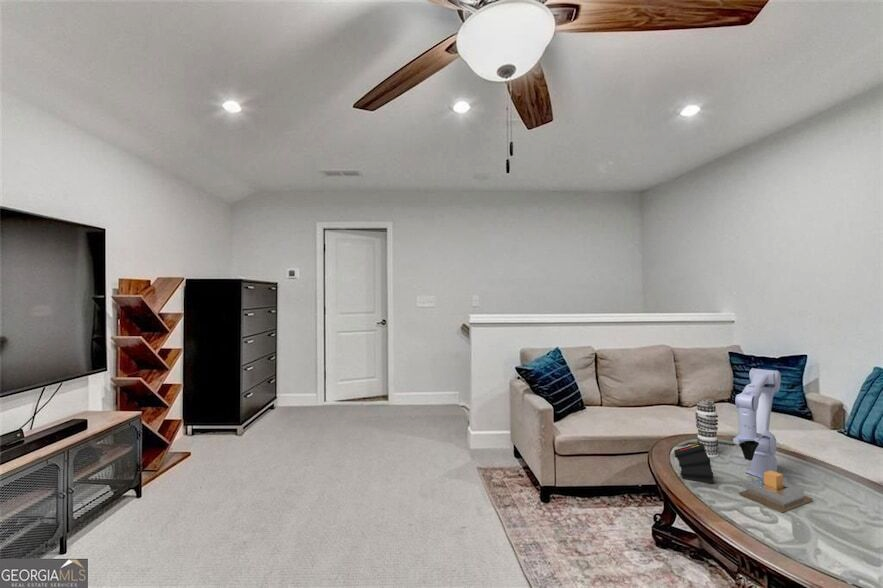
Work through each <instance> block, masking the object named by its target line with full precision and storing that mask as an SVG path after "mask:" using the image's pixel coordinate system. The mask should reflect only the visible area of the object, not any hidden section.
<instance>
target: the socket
mask: <svg viewBox="0 0 883 588" xmlns="http://www.w3.org/2000/svg"><path fill="white" fill-rule="evenodd" d="M739 496H740V497H741V496H742V497H743V498H745V499H748V500H751V501H752V502H753V501H754V502H756V503H758V504H760V505H762V506H765V507H767V508H770V509H772V510H775V511H777V512H779V513H781V514H782V513H785V512H788V511H790V510H793V509H797V508H799V507H800V506H803V504H804V505H806V504H809V503H811V502H814V501H813V498H812V497H809V496H807V495H805V489H804V488H801V487H798V486H796V485H794V484H793V485H792V484H790V483H787V482H785V481H783V490H780V491H778V490H775V489H773V488H770V487H768V486H765V485H764V477H763V478H757V479H754V480H750V481H747V482H746V489H745V490H742V491H740V492H739ZM798 506H799V507H798Z"/></svg>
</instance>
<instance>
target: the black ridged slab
mask: <svg viewBox="0 0 883 588" xmlns="http://www.w3.org/2000/svg"><path fill="white" fill-rule="evenodd" d="M673 453H674V457H675V458H676V459H677V461H678V463H679V465H678V466H679V467H680V476H681V479H683V480H686V481H687V480H688V481H693V482H699V483H704V484H712V485H713V484H714V480H713V479H714V472H713V471H712V465H711V457H708V456H707V453H706V451H705V448H704V445H702V444H701V443H699V444H698V443H696V444H692V445H689V446H685V447H681V448H677V449H674V451H673Z"/></svg>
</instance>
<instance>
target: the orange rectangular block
mask: <svg viewBox="0 0 883 588" xmlns="http://www.w3.org/2000/svg"><path fill="white" fill-rule="evenodd" d="M783 482H784V474H782V473H779V472H778V471H777V472H774V471H771V470H770V471H767V472H764V485H765V486H768V487H770V488H773V489H775V490H778V491H780V490H783Z"/></svg>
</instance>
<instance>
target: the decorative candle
mask: <svg viewBox="0 0 883 588" xmlns="http://www.w3.org/2000/svg"><path fill="white" fill-rule="evenodd" d="M695 404H696V412H695V415H694V416H695V426H696V429H697V437H696V442H697V443H696V444H699V443H701V444H702V445H704V448H705V451H706V453H707V456H708V457H709V458H717V457H719V452H720V451H719V448H720V447H719V439H718V435H717V432H718V429H719V428H718V426H719V423H718V422H719V420H718V419H717V418H719V415H718V413H717V410H716V409H717V408H716V407H717V404H716V403H715V402H714V401H713V400H710V399H703V398H702V399H699V400H698V401H696V402H695Z"/></svg>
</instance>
